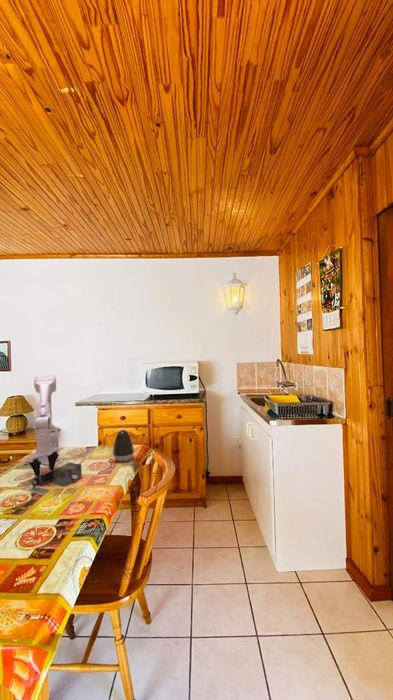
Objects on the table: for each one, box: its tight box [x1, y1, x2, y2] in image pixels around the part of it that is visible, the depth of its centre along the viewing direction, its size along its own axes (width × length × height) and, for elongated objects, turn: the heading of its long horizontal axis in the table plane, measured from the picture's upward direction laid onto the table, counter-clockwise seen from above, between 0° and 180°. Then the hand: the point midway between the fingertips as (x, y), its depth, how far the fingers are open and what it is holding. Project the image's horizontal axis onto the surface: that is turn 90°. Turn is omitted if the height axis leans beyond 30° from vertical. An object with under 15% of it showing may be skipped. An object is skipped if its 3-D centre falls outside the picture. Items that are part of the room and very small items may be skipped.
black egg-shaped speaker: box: [112, 429, 135, 463], centre depth 162 cm, size 10×10×15 cm
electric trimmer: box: [31, 476, 39, 486], centre depth 140 cm, size 4×16×3 cm, turn 148°
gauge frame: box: [20, 462, 83, 496], centre depth 135 cm, size 15×18×6 cm
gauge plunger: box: [32, 470, 78, 487], centre depth 136 cm, size 12×20×4 cm, turn 155°
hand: (44, 473), depth 143 cm, fingers open, 7 cm apart
